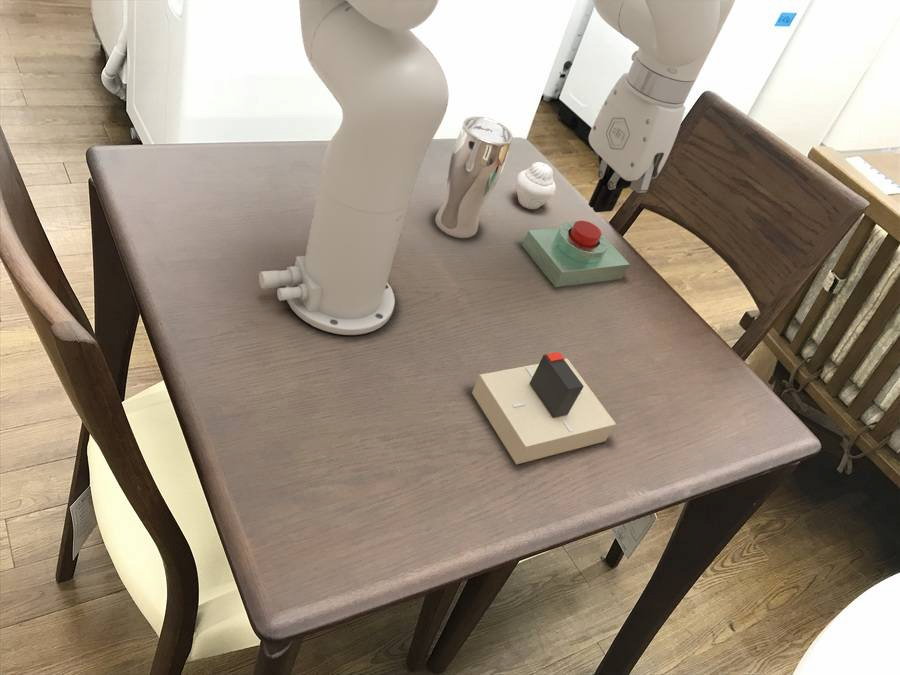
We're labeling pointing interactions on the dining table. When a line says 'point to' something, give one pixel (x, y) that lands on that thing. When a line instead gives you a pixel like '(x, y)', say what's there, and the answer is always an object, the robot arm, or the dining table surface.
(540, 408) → the dial panel
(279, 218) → the dining table surface
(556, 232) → the housing
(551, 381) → the knob
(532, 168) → the muffin
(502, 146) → the beer glass
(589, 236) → the button
